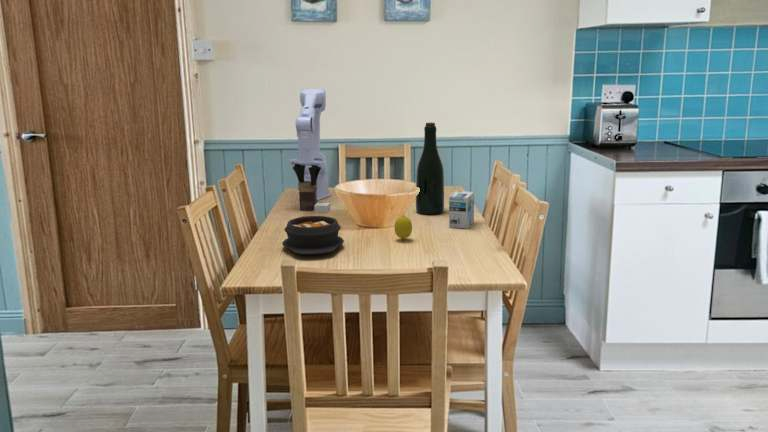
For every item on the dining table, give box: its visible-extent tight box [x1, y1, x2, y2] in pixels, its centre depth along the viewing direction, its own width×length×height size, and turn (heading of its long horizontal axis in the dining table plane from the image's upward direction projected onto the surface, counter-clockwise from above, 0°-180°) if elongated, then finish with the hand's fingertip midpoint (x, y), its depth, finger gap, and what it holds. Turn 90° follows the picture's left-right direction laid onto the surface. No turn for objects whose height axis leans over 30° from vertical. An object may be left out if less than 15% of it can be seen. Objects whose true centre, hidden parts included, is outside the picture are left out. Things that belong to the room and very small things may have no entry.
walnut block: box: [297, 180, 317, 192], centre depth 247 cm, size 5×5×3 cm
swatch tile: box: [317, 201, 333, 206], centre depth 257 cm, size 6×6×1 cm
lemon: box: [394, 214, 413, 241], centre depth 205 cm, size 6×6×8 cm
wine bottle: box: [415, 122, 445, 216], centre depth 238 cm, size 10×10×33 cm
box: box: [298, 190, 318, 212], centre depth 249 cm, size 6×6×7 cm
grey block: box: [313, 202, 331, 214], centre depth 245 cm, size 5×5×3 cm
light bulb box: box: [448, 190, 475, 230], centre depth 222 cm, size 11×7×11 cm, turn 161°
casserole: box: [281, 215, 345, 256], centre depth 198 cm, size 25×19×8 cm
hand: (307, 184), depth 247 cm, fingers closed on walnut block, 5 cm apart
